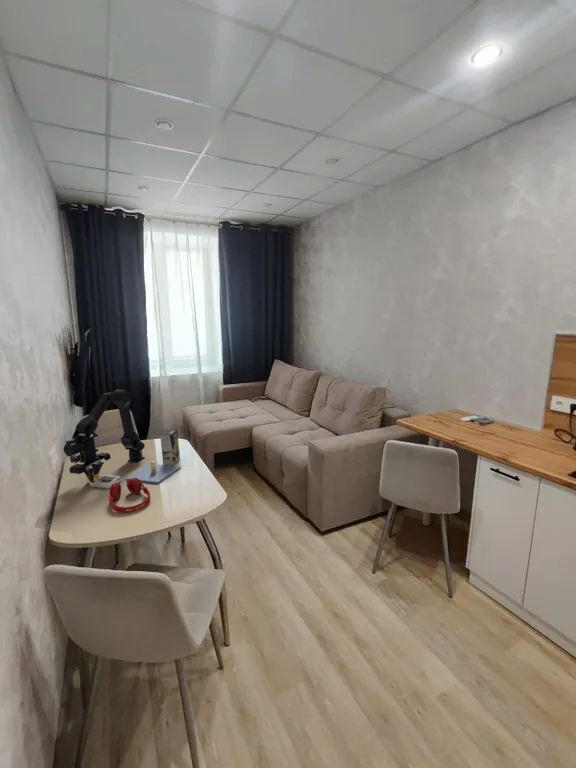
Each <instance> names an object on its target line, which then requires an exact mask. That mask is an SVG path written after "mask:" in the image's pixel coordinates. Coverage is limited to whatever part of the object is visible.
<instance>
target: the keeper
mask: <svg viewBox="0 0 576 768" xmlns="http://www.w3.org/2000/svg"><path fill="white" fill-rule="evenodd" d="M178 469H179V470H180V469H181V465H163V464H161V463H160V464H159V463H156V461H155V460H152V461H150V463H149V464H147V465H146V466H144V467H142V468H141V469H139V470H137V471H136V472H134V473H132V474H130V475H128V477H126V478H125V481H126V482H128V480H130V479H131V478H137V479H139V480H140V481H141V483H147V484H155V485H156V484H157V485H159V484H161V483H162V482H163V481H165V480H166V479H168V478H169V477H171V476H172V475H173V474H175V473H176V472H177V470H178ZM179 470H178V471H179ZM174 472H175V473H174ZM167 477H168V478H167ZM164 479H165V480H164Z"/></svg>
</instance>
